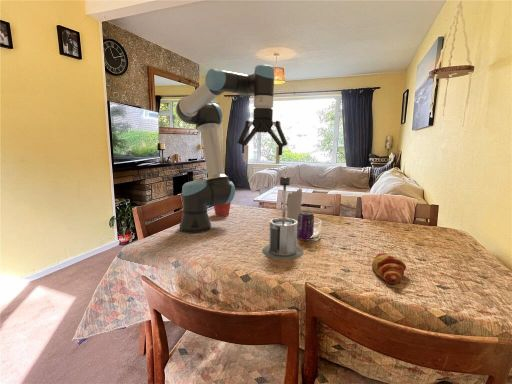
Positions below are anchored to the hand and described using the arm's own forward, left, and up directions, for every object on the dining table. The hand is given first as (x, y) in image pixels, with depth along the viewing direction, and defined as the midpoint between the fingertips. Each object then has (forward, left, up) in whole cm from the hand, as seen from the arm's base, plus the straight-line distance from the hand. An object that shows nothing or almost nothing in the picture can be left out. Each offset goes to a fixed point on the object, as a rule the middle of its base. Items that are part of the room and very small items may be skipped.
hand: (261, 162), depth 114 cm
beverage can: (+13, +17, -35) cm, 41 cm away
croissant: (+50, +2, -35) cm, 61 cm away
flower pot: (-44, +26, -35) cm, 62 cm away
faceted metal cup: (+13, -4, -34) cm, 36 cm away
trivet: (+13, -4, -34) cm, 37 cm away
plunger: (+13, -4, -23) cm, 27 cm away
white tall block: (-4, +33, -35) cm, 48 cm away
